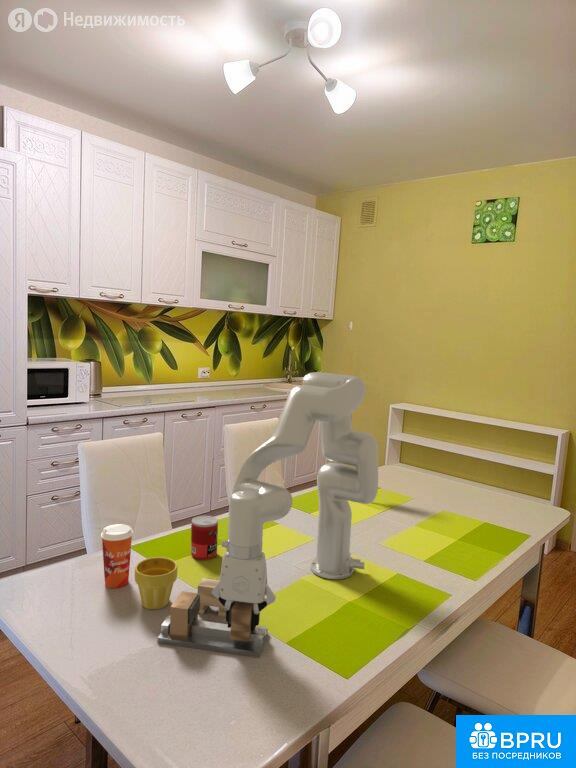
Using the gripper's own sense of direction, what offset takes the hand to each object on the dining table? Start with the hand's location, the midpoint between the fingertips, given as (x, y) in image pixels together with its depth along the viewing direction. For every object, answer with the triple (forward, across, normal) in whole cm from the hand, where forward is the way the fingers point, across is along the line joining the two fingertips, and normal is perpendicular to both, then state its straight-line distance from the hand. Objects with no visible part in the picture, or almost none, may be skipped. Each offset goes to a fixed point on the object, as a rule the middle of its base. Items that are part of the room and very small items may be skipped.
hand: (242, 625), depth 119 cm
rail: (+4, -6, 0) cm, 8 cm away
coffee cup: (+4, -39, +18) cm, 43 cm away
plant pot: (+4, -25, +11) cm, 28 cm away
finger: (+1, 0, 0) cm, 1 cm away
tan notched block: (+4, -10, +11) cm, 15 cm away
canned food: (+4, -22, +40) cm, 46 cm away
